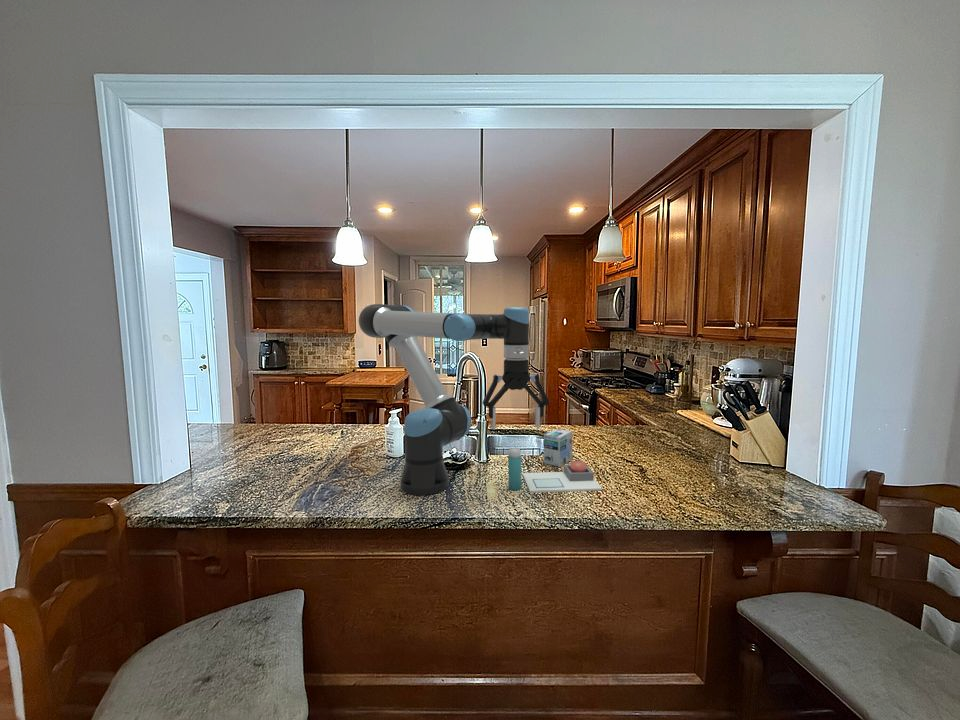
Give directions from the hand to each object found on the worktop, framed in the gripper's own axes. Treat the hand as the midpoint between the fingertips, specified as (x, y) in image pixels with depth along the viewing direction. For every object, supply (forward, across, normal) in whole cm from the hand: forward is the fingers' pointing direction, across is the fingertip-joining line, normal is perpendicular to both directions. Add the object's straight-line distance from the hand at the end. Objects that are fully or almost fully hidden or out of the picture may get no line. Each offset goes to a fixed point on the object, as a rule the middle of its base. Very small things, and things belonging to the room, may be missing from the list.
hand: (515, 427), depth 121 cm
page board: (+18, +15, +1) cm, 24 cm away
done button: (+16, +21, +4) cm, 27 cm away
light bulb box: (+19, +20, +20) cm, 34 cm away
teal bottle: (+19, 0, -1) cm, 19 cm away
